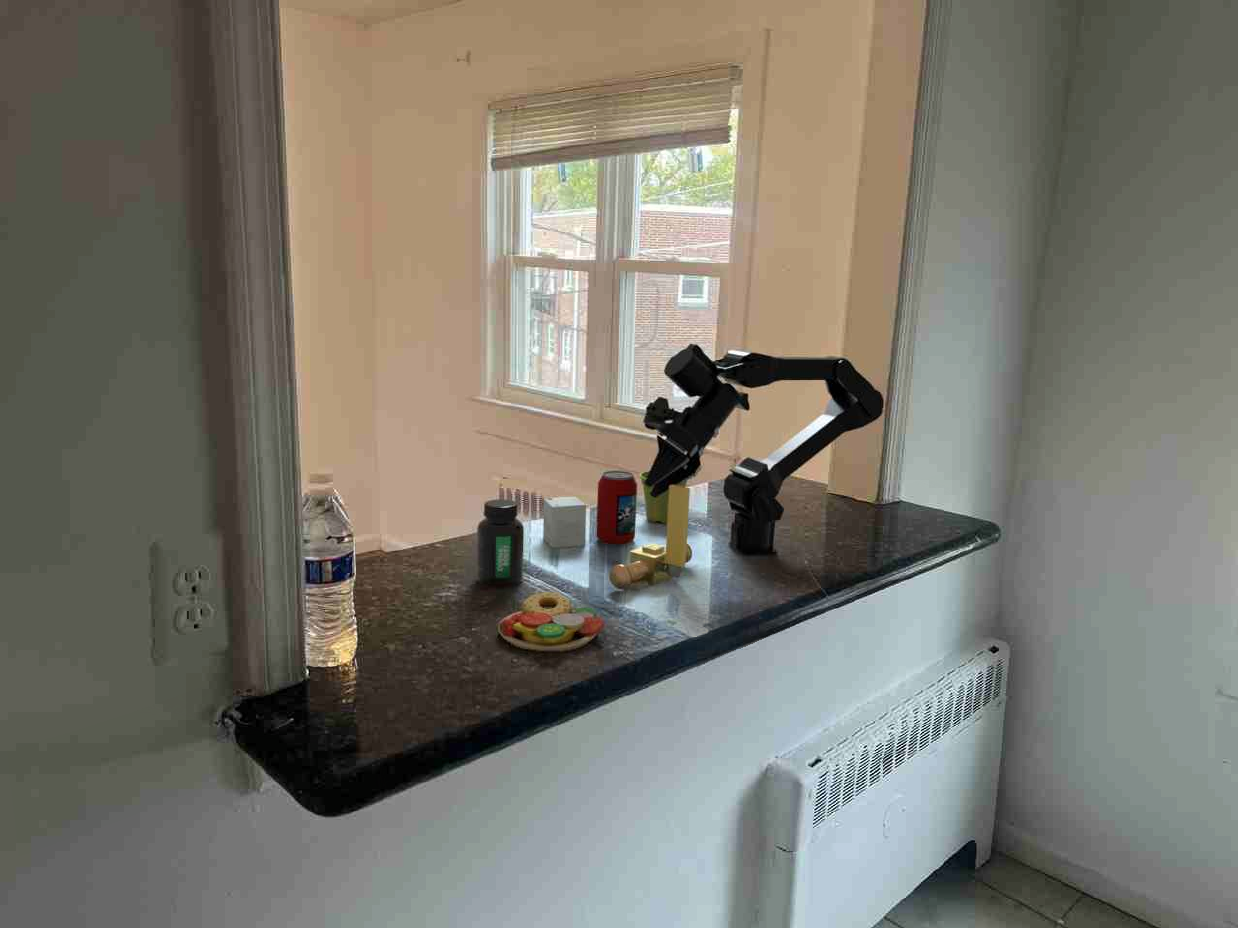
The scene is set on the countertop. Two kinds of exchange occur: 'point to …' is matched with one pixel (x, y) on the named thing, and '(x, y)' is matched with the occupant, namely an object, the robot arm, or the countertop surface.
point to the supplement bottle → (500, 545)
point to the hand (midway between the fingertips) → (649, 491)
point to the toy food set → (550, 624)
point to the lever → (677, 529)
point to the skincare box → (564, 522)
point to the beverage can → (616, 508)
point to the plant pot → (656, 502)
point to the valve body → (644, 568)
